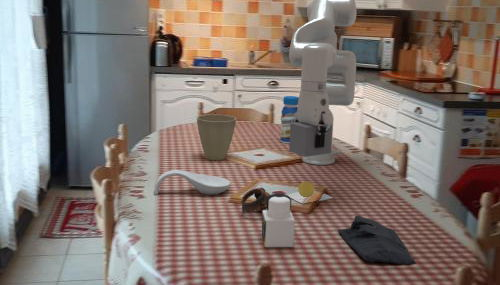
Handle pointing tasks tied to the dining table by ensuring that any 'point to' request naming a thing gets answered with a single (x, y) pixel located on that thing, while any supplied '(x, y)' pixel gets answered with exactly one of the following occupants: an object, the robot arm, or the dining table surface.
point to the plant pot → (216, 135)
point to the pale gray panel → (325, 197)
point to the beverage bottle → (288, 117)
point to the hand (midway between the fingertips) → (310, 144)
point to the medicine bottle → (278, 222)
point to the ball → (306, 189)
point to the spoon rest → (197, 182)
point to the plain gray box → (307, 140)
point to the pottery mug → (260, 200)
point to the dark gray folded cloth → (376, 242)
